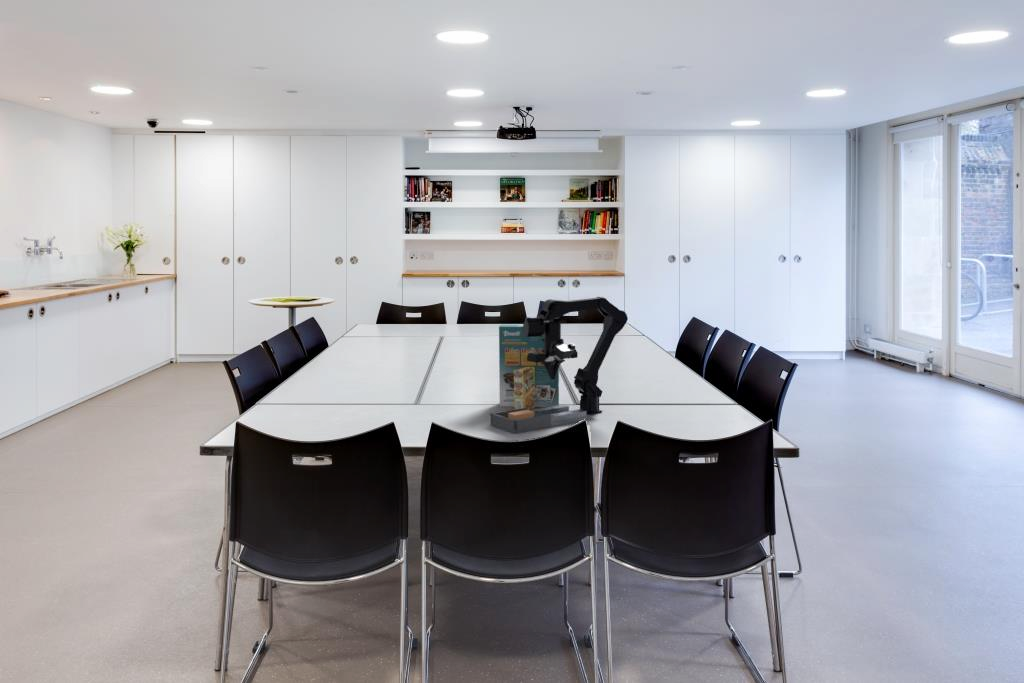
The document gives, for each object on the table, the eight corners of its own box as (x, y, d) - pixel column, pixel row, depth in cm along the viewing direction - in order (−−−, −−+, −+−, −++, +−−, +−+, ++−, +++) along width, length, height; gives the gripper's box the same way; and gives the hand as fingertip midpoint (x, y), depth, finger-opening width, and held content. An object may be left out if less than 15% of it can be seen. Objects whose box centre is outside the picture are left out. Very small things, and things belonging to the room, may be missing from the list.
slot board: (561, 413, 303) (561, 404, 303) (587, 420, 292) (587, 411, 292) (526, 419, 294) (526, 410, 294) (551, 426, 283) (551, 417, 282)
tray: (526, 419, 294) (526, 407, 293) (551, 426, 283) (551, 414, 282) (490, 425, 285) (490, 413, 285) (515, 433, 274) (514, 421, 274)
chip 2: (527, 419, 288) (527, 409, 287) (534, 422, 285) (534, 411, 284) (517, 421, 286) (517, 411, 285) (524, 423, 282) (524, 413, 282)
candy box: (523, 412, 305) (523, 370, 303) (513, 411, 307) (513, 369, 305) (535, 407, 313) (535, 366, 310) (525, 406, 315) (525, 366, 312)
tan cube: (517, 421, 286) (517, 411, 285) (524, 423, 282) (524, 413, 282) (508, 423, 283) (508, 413, 283) (515, 425, 280) (514, 415, 280)
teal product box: (558, 403, 319) (559, 325, 315) (558, 407, 313) (558, 327, 309) (501, 402, 321) (500, 324, 317) (499, 406, 315) (499, 326, 311)
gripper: (545, 340, 284) (545, 386, 286) (587, 335, 295) (587, 379, 297) (526, 337, 293) (526, 381, 295) (567, 332, 303) (567, 375, 306)
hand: (552, 379), depth 298 cm, fingers closed
